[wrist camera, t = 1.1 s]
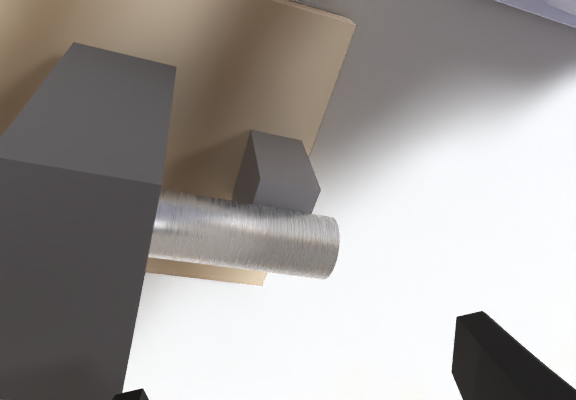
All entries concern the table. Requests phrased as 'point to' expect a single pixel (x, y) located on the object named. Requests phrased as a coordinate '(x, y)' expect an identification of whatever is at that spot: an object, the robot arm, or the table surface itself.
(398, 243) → the table surface
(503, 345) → the robot arm
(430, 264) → the table surface
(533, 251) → the table surface
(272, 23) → the pipe rig
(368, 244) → the table surface
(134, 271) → the tall grey prism
